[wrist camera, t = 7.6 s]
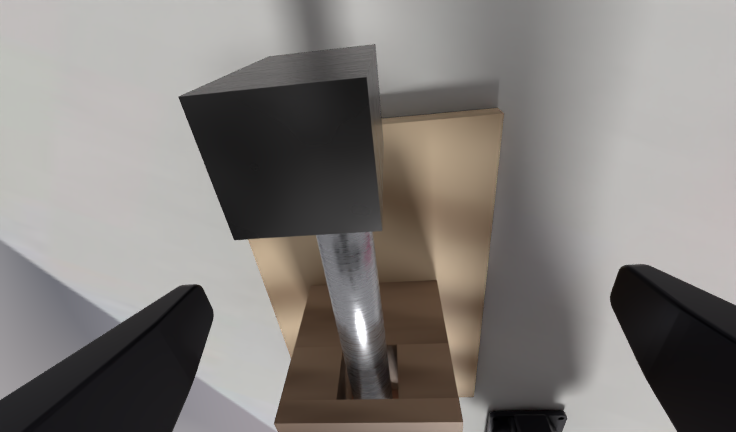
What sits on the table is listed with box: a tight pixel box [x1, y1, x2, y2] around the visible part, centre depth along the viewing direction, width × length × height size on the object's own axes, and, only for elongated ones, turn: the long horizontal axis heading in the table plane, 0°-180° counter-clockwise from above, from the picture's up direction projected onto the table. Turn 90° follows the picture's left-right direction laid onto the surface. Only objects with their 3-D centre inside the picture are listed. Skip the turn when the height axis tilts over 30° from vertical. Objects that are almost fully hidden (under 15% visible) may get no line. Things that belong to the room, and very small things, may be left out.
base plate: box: [248, 108, 504, 397], centre depth 22 cm, size 23×14×1 cm, turn 6°
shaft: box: [179, 44, 393, 399], centre depth 12 cm, size 16×3×5 cm, turn 6°
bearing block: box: [274, 280, 463, 432], centre depth 19 cm, size 4×8×8 cm, turn 96°
